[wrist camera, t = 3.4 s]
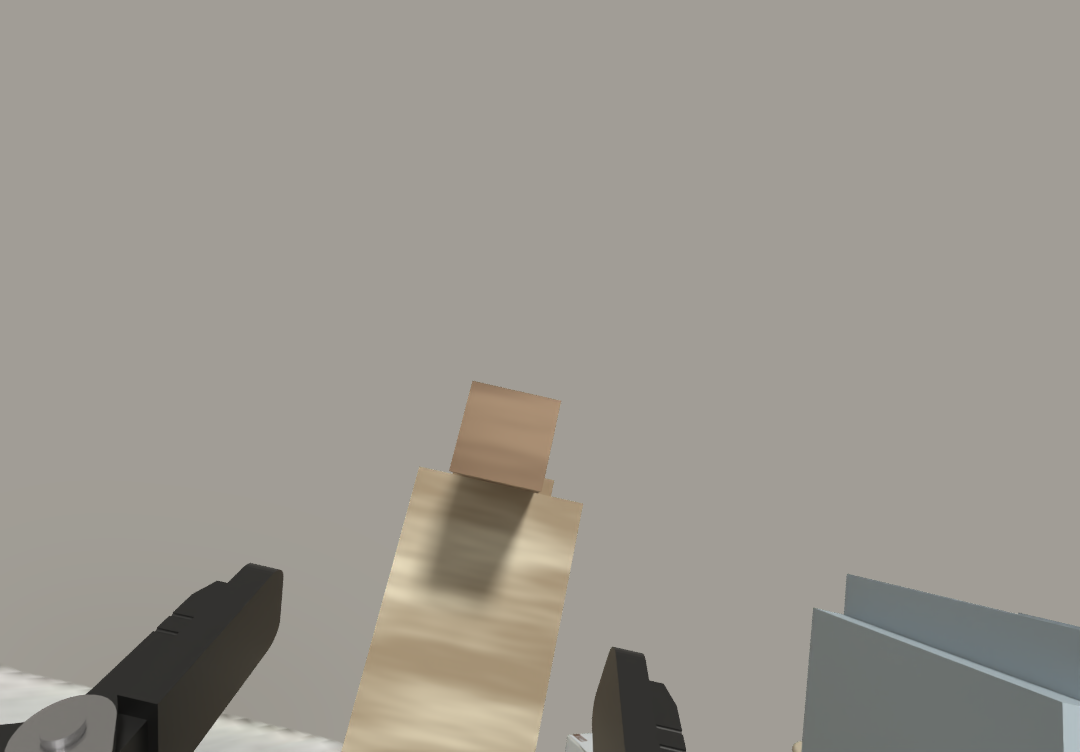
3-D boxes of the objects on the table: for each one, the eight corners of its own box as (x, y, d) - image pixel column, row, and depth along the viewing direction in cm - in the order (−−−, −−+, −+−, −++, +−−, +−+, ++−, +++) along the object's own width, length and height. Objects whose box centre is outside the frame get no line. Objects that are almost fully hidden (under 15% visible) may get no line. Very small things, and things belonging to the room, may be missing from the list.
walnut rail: (484, 483, 45) (494, 439, 45) (528, 493, 45) (538, 449, 45) (449, 470, 21) (472, 380, 22) (541, 491, 21) (561, 400, 22)
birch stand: (344, 896, 38) (460, 443, 46) (473, 926, 38) (566, 467, 46) (225, 1175, 22) (432, 418, 31) (443, 1227, 22) (592, 454, 31)
